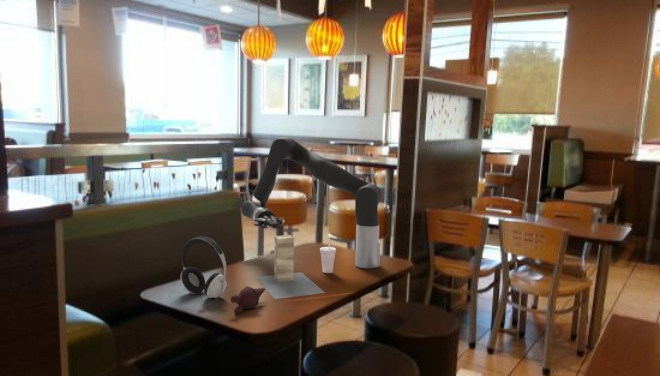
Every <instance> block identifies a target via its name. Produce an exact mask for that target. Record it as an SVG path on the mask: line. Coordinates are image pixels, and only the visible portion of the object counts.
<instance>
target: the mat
mask: <svg viewBox="0 0 660 376" xmlns="http://www.w3.org/2000/svg"><path fill="white" fill-rule="evenodd" d="M255 279H256V280H257V281H258V282H259V284H260V285H261V286H262V288H265V291H266V292H267V293H268V294H269V295H270V297H271V298H272V299H273V300H279V299H285V298H286V299H287V298H295V297H303V296H311V295H317V294H319V295H320V294H325V293H326V292H325V291H324V290H323V289H322V288H320V287H319V286H318V285H317V284H316V283H314V282H313V281H312V280H311V279H310V278H309V277H308V276H306V275H305V274H304V273H303V272H293V280H292V281H283V282H277V281H276V280H275V279H274V275H273V274H272V275H263V276H255Z"/></svg>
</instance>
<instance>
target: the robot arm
mask: <svg viewBox="0 0 660 376" xmlns="http://www.w3.org/2000/svg"><path fill="white" fill-rule="evenodd" d="M266 159H267V160H266V162H265V165H264V168H263V170H262V173H261V176H260V178H259V179H258V182H257V184H256V186H255V189H254V190H253V193H252V194H253V198H254V199H256V200H257V201H259V202H260V203H258V202H255V201H252V200H246V201H244V203H242V205H241V211H240V212H241V213H242V215H243V216H245V217H246V218H249V219H251V220H253V226H254V227H260V228H262V229H269V228H271V229H274V230H277V229H279V227H281V226H283V225H284V224H285V217H277V216H275V214H274V212H273V211H272V210H270V209H268V208H267V206H268V205H267V204H268V200H269V198H270V196H271V194H272V192H273V190H274V187H275V186H276V181H277V175H278V171H279V168H280V167H281V165H282V164H283V162H284V161H285V160H290V161H293V162H294V163H297V164H299V165H300V166H302V167H303V168H304V169H305V170H306V171H307V172H308V174H310V175H311V176H312V177H314V178H315V179H316V180H318V181H320V182H322V183H324V184H325V185H327V186H329V187H332V188H336V189H339V190H342V191H346V192H347V193H349V194H351V195H353V196H354V197H355V199H354V200H355V201H354V206H355V207H354V208H355V209H354V211H355V212H354V214H355V215H354V216H355V220H356V227H355V228H356V229H355V230H356V232H355V234H356V235H355V259H354V261H355V262H354V263H355V266H356V267H357V268H361V269H375V268H379V267H380V260H381V257H380V256H381V244H380V241H379V239H380V217H379V215H378V214H379V213H378V208H379V207H378V206H379V204H380V203H381V202H382V200H383V193H382V190H381V189H380V187H378V186H377V185H375V184H373V183H371V182H368V181H366V180H364V179H362V178H359V177H358V176H355V175H354V174H352V173H351V172H349V171H347V170H346V169H344V168H343V167H341V166H339V165H338V164H336V163H334V162H333V161H331V160H329V159H327V158H325V157H323V156H321V155H320V154H317V153H315V152H313V151H311V150H309V149H308V148H306V147H304V146H303V145H302V144H301V143H300V142H297V141H296V140H295V139H294V138H291V137H288V136H286V137H277V138H276V139H274V140H273V142H272V143H271V146H270V148H269V152H268V156H267V158H266Z"/></svg>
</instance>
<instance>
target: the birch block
mask: <svg viewBox="0 0 660 376" xmlns="http://www.w3.org/2000/svg"><path fill="white" fill-rule="evenodd" d="M294 244H295V238H294V236H292V235H291V234H287V235H275V236H274V269H273V270H274V272H273V273H274V279H275V280H276V281H277V282H283V281H292V280H293V273H295V272H294V269H295V268H294V265H295V264H294V259H295V258H294V257H295V255H294V253H295V249H294V248H295V245H294Z"/></svg>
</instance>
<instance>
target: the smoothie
mask: <svg viewBox="0 0 660 376" xmlns="http://www.w3.org/2000/svg"><path fill="white" fill-rule="evenodd" d="M319 252H320V259H321V267H322V268H321V269H322V273H324V274H333V270H334V263H335V257H336V252H337V248H336V247H335V246H334V247H333V246H331V237H328V246H322V247H320V248H319Z"/></svg>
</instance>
